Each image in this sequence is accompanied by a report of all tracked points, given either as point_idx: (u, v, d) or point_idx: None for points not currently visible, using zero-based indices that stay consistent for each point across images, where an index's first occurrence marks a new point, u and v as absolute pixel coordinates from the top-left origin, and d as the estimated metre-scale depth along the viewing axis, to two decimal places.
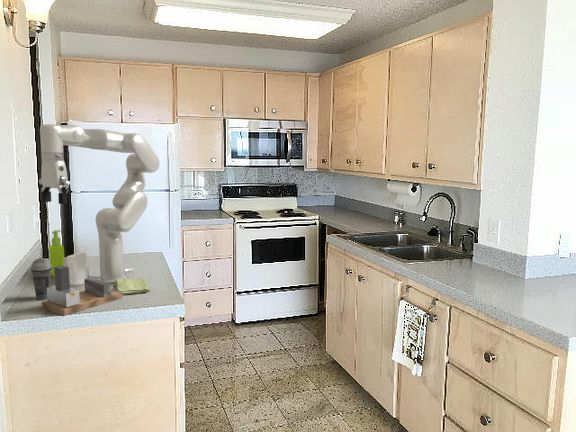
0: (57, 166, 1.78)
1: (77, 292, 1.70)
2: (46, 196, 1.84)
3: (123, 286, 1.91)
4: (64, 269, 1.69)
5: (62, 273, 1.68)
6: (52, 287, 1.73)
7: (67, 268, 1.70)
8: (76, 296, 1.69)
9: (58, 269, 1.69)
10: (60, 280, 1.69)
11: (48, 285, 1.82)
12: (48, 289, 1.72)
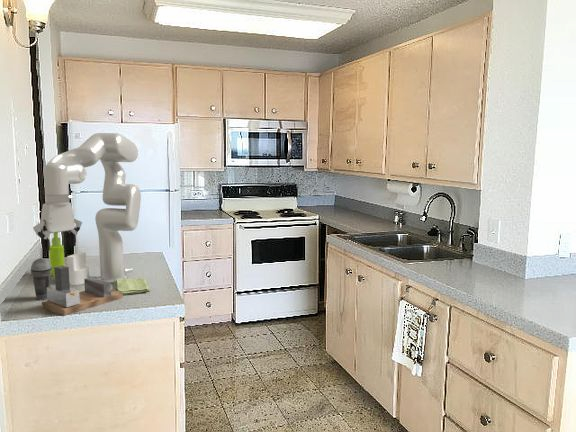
0: None
1: (77, 292, 1.70)
2: None
3: (123, 286, 1.91)
4: (64, 269, 1.69)
5: (62, 273, 1.68)
6: (52, 287, 1.73)
7: (67, 268, 1.70)
8: (76, 296, 1.69)
9: (58, 269, 1.69)
10: (60, 280, 1.69)
11: (48, 285, 1.82)
12: (48, 289, 1.72)
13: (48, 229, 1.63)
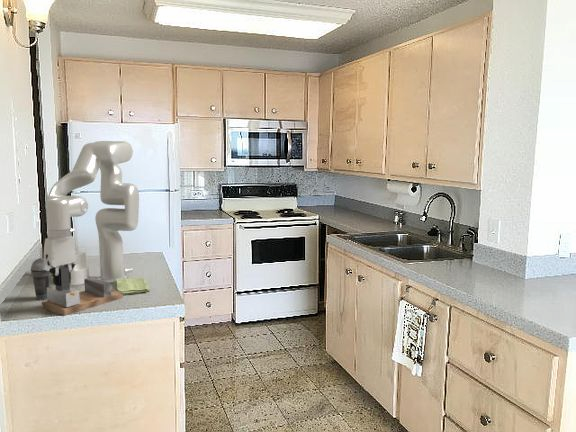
0: None
1: (77, 292, 1.70)
2: None
3: (123, 286, 1.91)
4: (64, 269, 1.69)
5: (62, 273, 1.68)
6: (52, 287, 1.73)
7: (67, 268, 1.70)
8: (76, 296, 1.69)
9: None
10: None
11: (48, 285, 1.82)
12: (48, 289, 1.72)
13: (51, 264, 1.65)
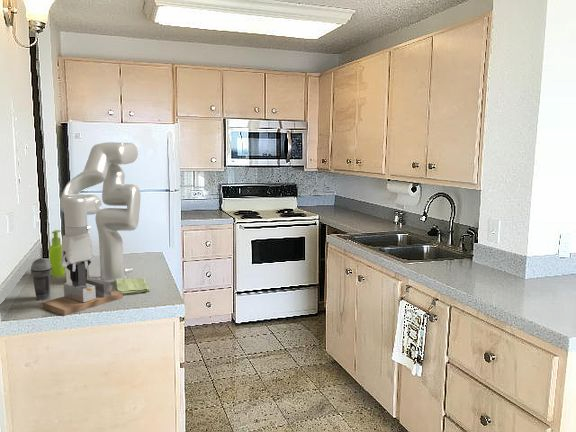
0: None
1: (93, 288, 1.75)
2: None
3: (123, 286, 1.91)
4: (81, 265, 1.74)
5: (79, 269, 1.74)
6: (69, 283, 1.78)
7: (83, 264, 1.75)
8: (92, 292, 1.75)
9: None
10: (77, 276, 1.74)
11: (48, 285, 1.82)
12: (65, 285, 1.77)
13: (68, 260, 1.70)
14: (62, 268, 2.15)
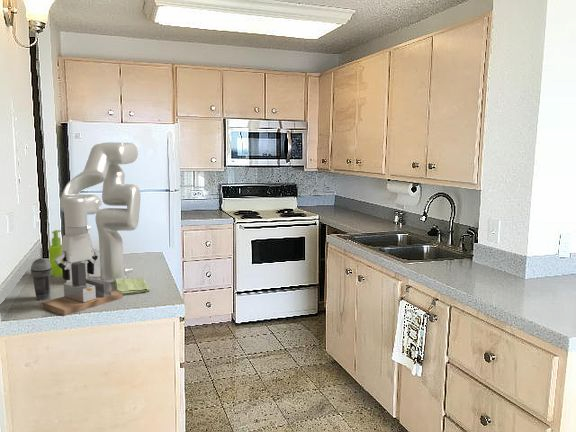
0: None
1: (93, 288, 1.75)
2: None
3: (123, 286, 1.91)
4: (81, 265, 1.74)
5: (79, 269, 1.74)
6: (69, 283, 1.78)
7: (84, 264, 1.75)
8: (92, 292, 1.75)
9: (75, 265, 1.74)
10: (77, 276, 1.74)
11: (48, 285, 1.82)
12: (65, 285, 1.77)
13: (68, 260, 1.70)
14: None
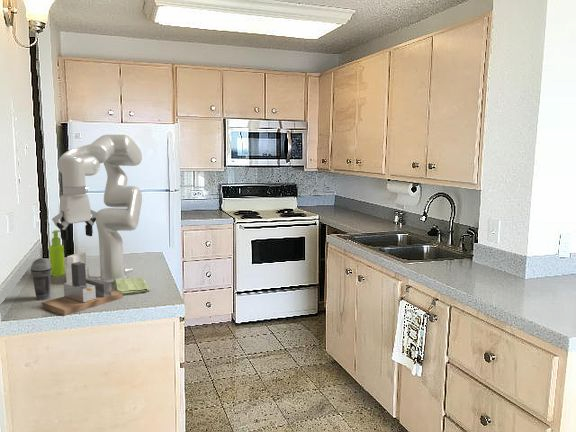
0: None
1: (93, 288, 1.75)
2: None
3: (122, 286, 1.92)
4: (81, 265, 1.74)
5: (79, 269, 1.74)
6: (69, 283, 1.78)
7: (84, 264, 1.75)
8: (92, 292, 1.75)
9: (75, 265, 1.74)
10: (77, 276, 1.74)
11: (48, 285, 1.82)
12: (65, 285, 1.77)
13: (66, 220, 1.68)
14: (62, 268, 2.15)
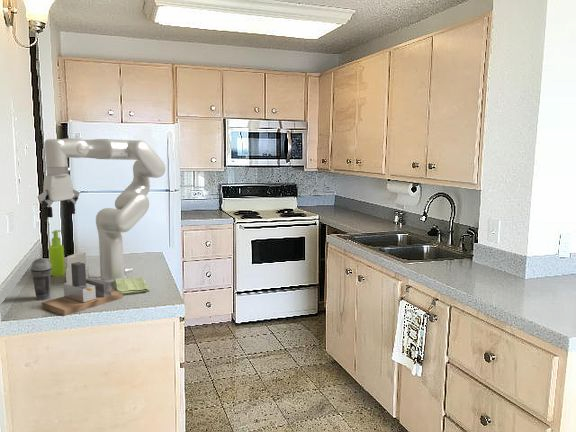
0: None
1: (93, 288, 1.75)
2: None
3: (122, 286, 1.92)
4: (81, 265, 1.74)
5: (79, 269, 1.74)
6: (69, 283, 1.78)
7: (84, 264, 1.75)
8: (92, 292, 1.75)
9: (75, 265, 1.74)
10: (77, 276, 1.74)
11: (48, 285, 1.82)
12: (65, 285, 1.77)
13: (51, 198, 1.81)
14: (62, 268, 2.15)
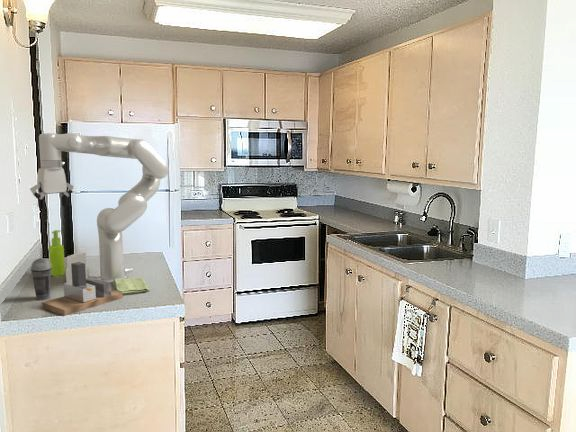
0: None
1: (93, 288, 1.75)
2: None
3: (122, 286, 1.92)
4: (81, 265, 1.74)
5: (79, 269, 1.74)
6: (69, 283, 1.78)
7: (84, 264, 1.75)
8: (92, 292, 1.75)
9: (75, 265, 1.74)
10: (77, 276, 1.74)
11: (48, 285, 1.82)
12: (65, 285, 1.77)
13: (43, 190, 1.86)
14: (62, 268, 2.15)
